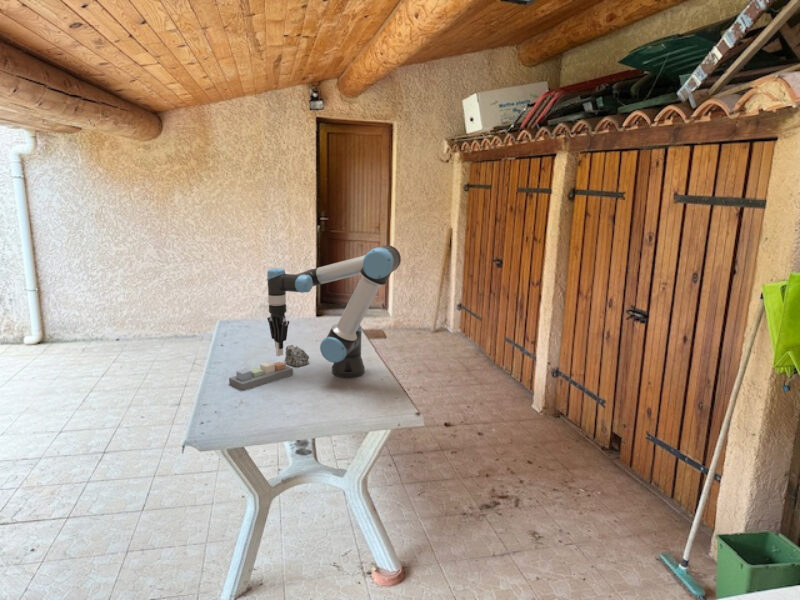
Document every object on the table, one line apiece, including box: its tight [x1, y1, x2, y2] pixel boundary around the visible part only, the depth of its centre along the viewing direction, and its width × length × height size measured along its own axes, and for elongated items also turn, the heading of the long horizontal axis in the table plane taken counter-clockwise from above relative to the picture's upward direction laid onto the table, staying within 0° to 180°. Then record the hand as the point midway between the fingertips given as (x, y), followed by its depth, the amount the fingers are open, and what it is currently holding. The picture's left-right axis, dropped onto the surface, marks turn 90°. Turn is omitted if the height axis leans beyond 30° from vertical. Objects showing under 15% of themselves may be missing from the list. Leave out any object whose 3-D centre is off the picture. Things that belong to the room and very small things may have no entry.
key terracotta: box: [273, 361, 287, 371], centre depth 231 cm, size 4×4×4 cm
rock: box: [284, 344, 310, 367], centre depth 246 cm, size 13×10×10 cm
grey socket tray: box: [228, 365, 294, 392], centre depth 224 cm, size 10×26×3 cm, turn 140°
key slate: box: [235, 368, 251, 382], centre depth 217 cm, size 4×4×4 cm
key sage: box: [249, 367, 263, 378], centre depth 222 cm, size 4×4×4 cm
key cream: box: [259, 361, 275, 374], centre depth 226 cm, size 4×4×4 cm
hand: (279, 355), depth 229 cm, fingers closed
